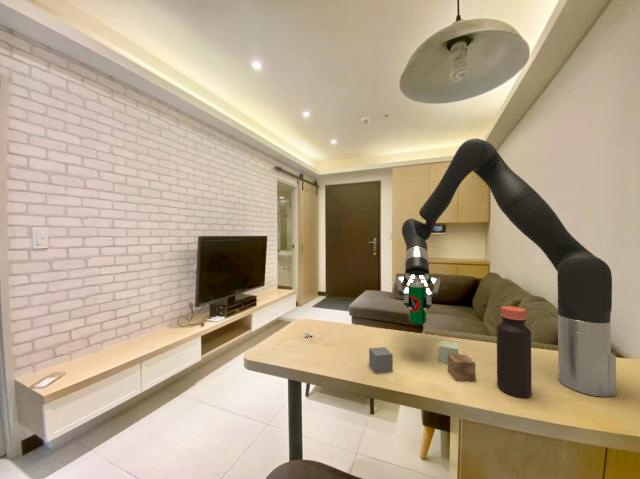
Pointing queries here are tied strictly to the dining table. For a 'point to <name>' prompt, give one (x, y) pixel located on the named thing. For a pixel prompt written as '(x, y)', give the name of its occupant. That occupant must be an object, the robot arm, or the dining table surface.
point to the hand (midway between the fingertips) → (417, 306)
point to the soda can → (417, 303)
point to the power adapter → (308, 333)
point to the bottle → (514, 353)
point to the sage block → (447, 350)
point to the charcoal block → (381, 360)
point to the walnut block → (461, 367)
